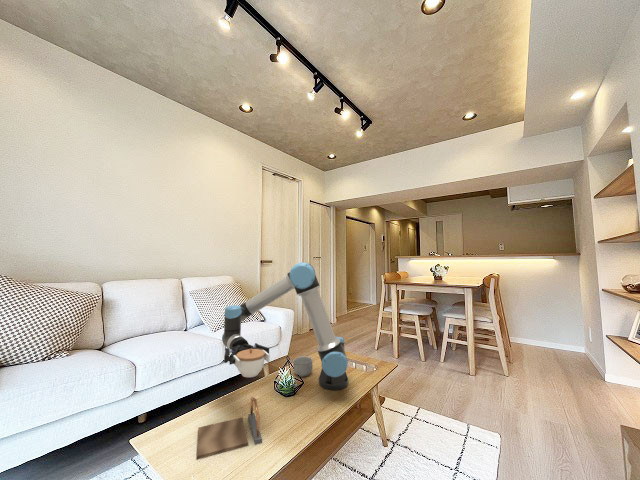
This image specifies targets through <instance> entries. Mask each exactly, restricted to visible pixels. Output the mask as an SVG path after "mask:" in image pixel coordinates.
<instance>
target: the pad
mask: <svg viewBox="0 0 640 480" xmlns="http://www.w3.org/2000/svg"><path fill="white" fill-rule="evenodd" d="M197 429H198V430H197V444H196V445H197V447H196V449H197V451H196V460H200V459H204V458H208V457H210V456H215V455H219V454H222V453H223V454H224V453H226V452H229V451H233V450H237V449H241V448H245V447H247V446H249V440H248V436H247V435H248V434H247V432H246V426H245V422H244V418H243V416H242V417H238V418H235V419H230V420H225V421H221V422H216V423H213V424H208V425H207V424H206V425H204V426H199V427H197Z"/></svg>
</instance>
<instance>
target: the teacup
mask: <svg viewBox="0 0 640 480" xmlns="http://www.w3.org/2000/svg"><path fill="white" fill-rule="evenodd" d="M292 363H293V372H294V374H295V375H297V374H298V375H299V376H298V375H297V376H298V377H307V376H309V375H310V374H311V373H312V371H313V358H312V357H310V356H306V355H302V356H298V357H296V358H294V359H293V360H292Z"/></svg>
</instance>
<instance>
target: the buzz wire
mask: <svg viewBox="0 0 640 480" xmlns="http://www.w3.org/2000/svg"><path fill="white" fill-rule="evenodd" d="M257 401H258V400H257V399H256V398H255V397H254V396H251V397H250V410H249V411H250V413H249V414H251V415H253V413H254V410H255V417H256V421H257V429H256V436H257V437H258V436H259V430H260V412H259V407H258V402H257Z"/></svg>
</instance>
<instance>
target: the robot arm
mask: <svg viewBox="0 0 640 480" xmlns="http://www.w3.org/2000/svg"><path fill="white" fill-rule="evenodd" d="M319 288H320V283H319V280H318V277H317V275H316V270H315V268H314V266H313V265H311V264H310V263H309V262H303V261H301V262H297V263H296V264H295V265H293V266H292V267H291V269H290V271H289V272H287V274H286V276H285V277H284V278H282V279H280V280H278V281H277V282H275V283H274V284H271V285H270V286H269V287H267V288H265V289H264V290H262V291H261V292H259V293H258V294H256V295H255V296H253V297H251V298H250V299H248V300H246V301H245V302H243V303H241V304H240V305H227V306H226V307H225V308H224V314H223V315H224V327H223V329H224V330H223V334H222V336H221V342H222V343H223V345H224V346H225V347H226V348H224V355H223V356H224V357H223V358H224V359H223V363H225V364H227V363H229V365H234V366H235V367H236V369H238V368H240V360H239V359H238V358H237V356H236V355H237V353H238V352H240V351H243V350H247V349H260V350H263V351H264V352H265V359H264V361H265V362H266V363H270V347H268V346H264V345H260V344H259V343H254V344H253V345H251V344H249V342H248V340H247V339H245V338H244V337H243V336H242V335H241V333H242V332H241V330H242V329H241V327H242V322H243V321H245V320H246V319H248V318H250V317H252V315H254V314H256V313H257V312H259V311H260V310H262V309H263V308H265V307H267V306H268V305H270V304H271V303H273V302H275V301H276V300H278V299H280V298H281V297H283V296H285V295H286V294H288V293H289V292H291V291H292V290H294V291H295V293H296V295H297V296H300V297H301V300H302V303H303V306H304V308H305V311H306V314H307V317H308V319H309V321H310V324H311V327H312V330H313V332H314V335H315V339H316V341H317V343H318V346H317V349H316V350H317V352H318V356H319V358H320V361H321V371H320V374H319V377H318V385H319V386H320V387H321V388H323V389H325V390H330V391H338V390H343V389H345V388H347V387H348V386H349V378H348V374H347V370H348V366H349V360H348V358H347V354H346V350H345V344H346V342H345V339H344V338H343V337H342V336H336V335H335V332H334V330H333V327H332V324H331V322H330V319H329V316H328V314H327V311H326V308H325V306H324V305H325V304H324V303H323V300H322V298H321V294H320V293H319ZM347 385H348V386H347ZM346 386H347V387H346Z"/></svg>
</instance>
